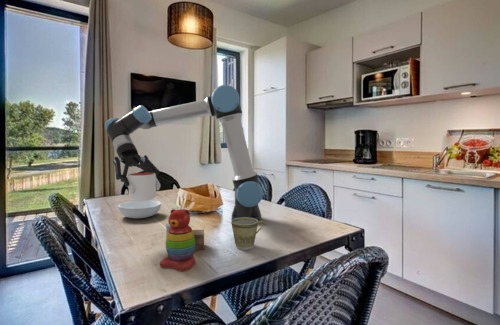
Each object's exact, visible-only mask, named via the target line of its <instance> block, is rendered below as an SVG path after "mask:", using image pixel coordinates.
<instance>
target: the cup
mask: <svg viewBox="0 0 500 325" xmlns="http://www.w3.org/2000/svg"><path fill="white" fill-rule="evenodd" d="M127 176H129V177H130V179H131V181H132V183H133V185H134V187H135V189H136V190H135V191H134V193H133V194H131V193H130V191H129V190H128V198H129V200H130V201H148V200H154V199H155V198H156V197H157V190H156V176H155V173H146V172H136V173H135V172H134V173H133V172H132V173H129V174H127Z"/></svg>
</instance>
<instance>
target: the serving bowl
mask: <svg viewBox="0 0 500 325" xmlns="http://www.w3.org/2000/svg"><path fill="white" fill-rule="evenodd" d="M161 205H162V203H161V201H158V200H154V199H152V200H148V201H133V200H129V201H125V202H121V203H119V204H118V211H119V213H120V214H121V215H122V216H124V217H126V218H130V219H134V220H136V219H137V220H138V219H139V220H140V219H146V218H149V217H152V216H154V215H156V214H158V213H159V211H160V209H161V208H162V206H161Z"/></svg>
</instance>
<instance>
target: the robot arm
mask: <svg viewBox="0 0 500 325" xmlns="http://www.w3.org/2000/svg"><path fill="white" fill-rule="evenodd" d="M240 99H241V98H240V94H239V92H238V91H237V89H236V88H235V87H233V86H231V85H229V84H222V85H219V86H217V87H216V88H215V89H214V90H213V92H212V94H211V95H210V96H206V98H204V99H201V100H197V101H196V100H195V101H192V102H188V103H182V104H177V105H172V106H169V107H164V108H159V109H153V110H150V111H149V110H148V108H147V107H145V106H144V105H142V104H141V105H138V106H137V107H134V108H133V109H132V110H130V111H129V112H128V113H127V114H125V115H124V116H122V117H121V118H118V117H112V118H109V119H107V120H106V121H105V123H104V128H105V131H106V135H107V136H108V138H109V139H110V141H111V143H112V146H113V148H114V150H115V152H116V154H117V156H114V158H113V160H112V162H113V164H114V169H115V180H117V181H119V180H120V182H122V183H123V184H124V187H127V188H128V192H129V191H130V193H131V194H133V193H134V191H135V190H136V189H135V187H134V185H133V183H132V181H131V179H130V177H129V176H128V172H129V168H133V167H137V168H138V169H141V171H143V172H144V173H155V176H156V191H159V190H160V189H161V186H162V185H161V183H160V179H159V177H158V175H159V173H160V170H159V169H158V168H157V166H155V164H153V162H152V161H151V160H150V159H149V157H148V155H146V154H145V155H144V156H141V155H139V151H138V149H137V147H136V145H135V143H134V141H133V140H132V138H131V136H130V135H131V134H132V133H134V132H135V131H137V130H139V129H143V130H149V129H151V128H155V127H159V126H163V125H168V124H173V123H179V122H182V121H187V120H192V119H196V118H197V119H198V118H201V117H205V116H207V117H208V116H210V117H215V118H216V120H217V121H218V122H219V123H221V128H222V131H223V135H224V139H225V142H226V147H227V151H228V154H229V158H230V159H229V160H230V162H231V167H232V170H233V177H232V178H231V180H232V183H233V184H232V185H233V188H234V206H233V209H232V213H231V218H230V219H231V221H232V220H233V219H236V218H242V217H248V218H254V219H257V220H258V221H259V220H261V221H262V213H261V209H260V207H259V204H260V202H261V201H262V199H263V197H264V196H263V194H264V191H263V187H262V186H261V184H260V178H259V175H258V172H256V171H255V170H254V168H253V165H252V161H251V158H250V157H251V156H250V154H249V149H248V144H247V141H246V137H245V133H244V129H243V126H242V125H243V124H242V121H241V117H242V115H243V111H242V106H241V104H240ZM121 163H122V164H123V165H124V166H123V171H122V167H121Z"/></svg>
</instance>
